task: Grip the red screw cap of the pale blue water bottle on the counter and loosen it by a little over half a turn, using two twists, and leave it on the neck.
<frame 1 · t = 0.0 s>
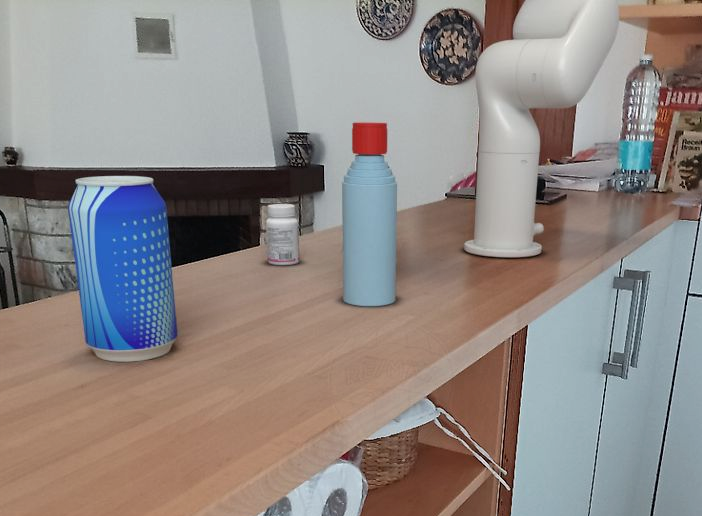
water bottle: (369, 300, 96), on the counter
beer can: (134, 352, 75), on the counter
beverage cup: (369, 267, 116), on the counter
pill bottle: (283, 264, 117), on the counter
cap: (369, 126, 88), point 20 cm above the counter, screwed on, not yet turned
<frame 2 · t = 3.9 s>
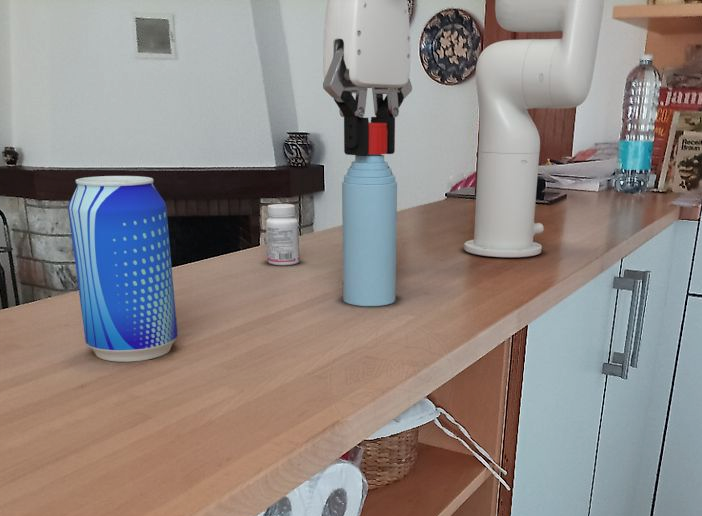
hand: (369, 152, 89), 17 cm above the counter, tool pointing down, fingers closed on cap, 3 cm apart
cap: (369, 126, 88), point 20 cm above the counter, screwed on, not yet turned, touching gripper
everything else where it was.
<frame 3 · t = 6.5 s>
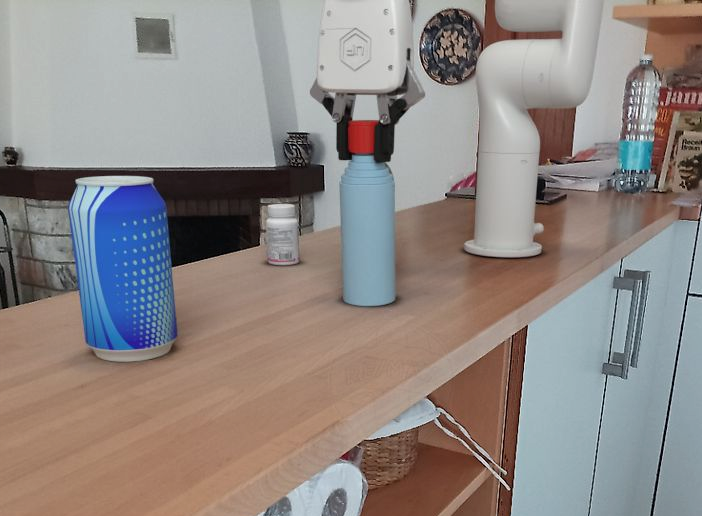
hand: (364, 159, 89), 17 cm above the counter, tool pointing down, fingers closed on cap, 3 cm apart
water bottle: (369, 299, 96), on the counter, touching gripper
cap: (365, 124, 88), point 20 cm above the counter, turned 105° so far, risen 0.1 cm, still on its thread, touching gripper
everything else where it was.
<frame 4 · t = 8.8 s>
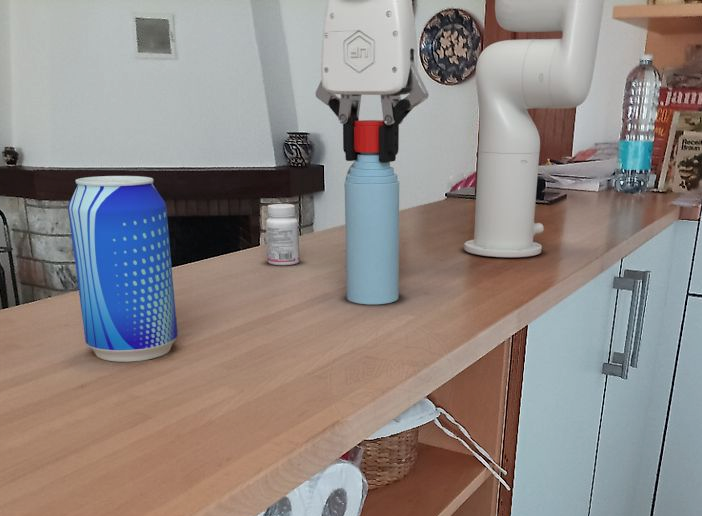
hand: (370, 159, 90), 17 cm above the counter, tool pointing down, fingers closed on cap, 3 cm apart
water bottle: (372, 297, 96), on the counter
cap: (371, 124, 89), point 20 cm above the counter, turned 105° so far, risen 0.1 cm, still on its thread, touching gripper
everything else where it was.
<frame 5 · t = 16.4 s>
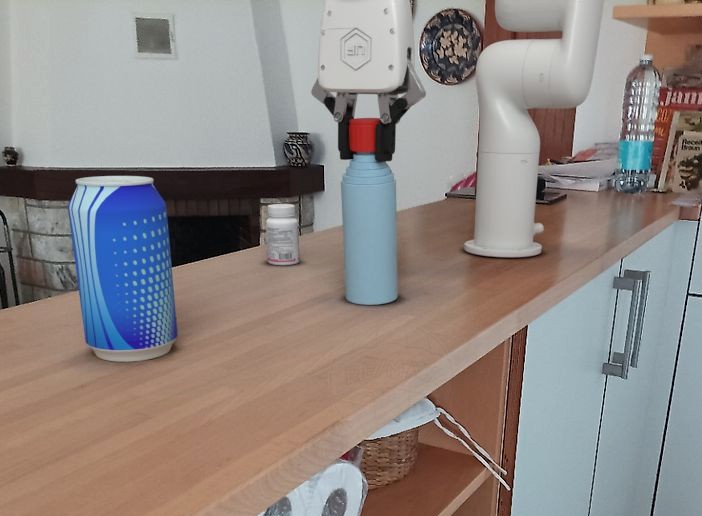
hand: (366, 158, 89), 17 cm above the counter, tool pointing down, fingers closed on cap, 3 cm apart
water bottle: (371, 297, 96), on the counter, touching gripper
cap: (366, 123, 88), point 20 cm above the counter, turned 210° so far, risen 0.2 cm, still on its thread, touching gripper
everything else where it was.
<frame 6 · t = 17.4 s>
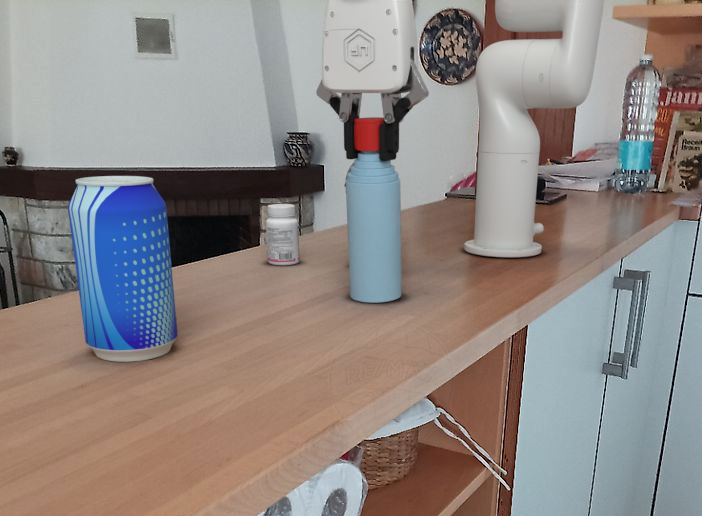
hand: (371, 157, 90), 17 cm above the counter, tool pointing down, fingers closed on cap, 3 cm apart
water bottle: (375, 295, 97), on the counter
cap: (371, 122, 89), point 21 cm above the counter, turned 211° so far, risen 0.2 cm, still on its thread, touching gripper
everything else where it was.
when the fingers open (17 cm above the counter, at t = 19.1 s): cap moves 2 cm, point 20 cm above the counter.
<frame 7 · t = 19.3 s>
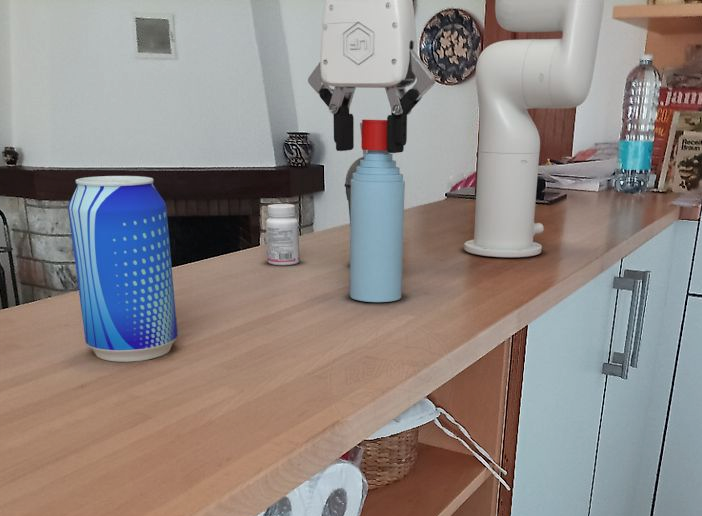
hand: (369, 149, 89), 18 cm above the counter, tool pointing down, fingers open, 5 cm apart
water bottle: (375, 296, 97), on the counter
cap: (378, 123, 90), point 20 cm above the counter, turned 211° so far, risen 0.2 cm, still on its thread
everything else where it was.
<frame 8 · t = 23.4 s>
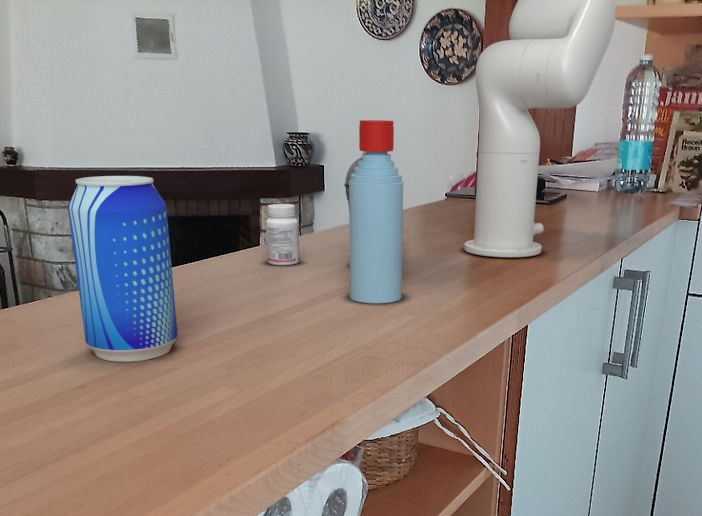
nothing on the counter moved.
at the end: cap turned 0.59 turns (still on its thread); cap is still on its thread (0.59 turns); water bottle tilted 0° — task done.
